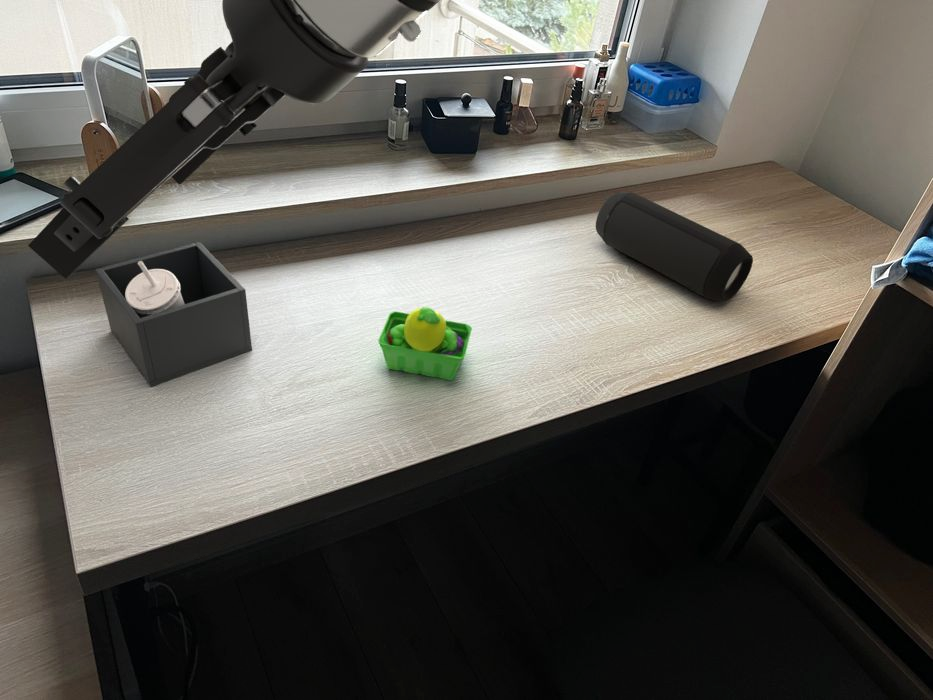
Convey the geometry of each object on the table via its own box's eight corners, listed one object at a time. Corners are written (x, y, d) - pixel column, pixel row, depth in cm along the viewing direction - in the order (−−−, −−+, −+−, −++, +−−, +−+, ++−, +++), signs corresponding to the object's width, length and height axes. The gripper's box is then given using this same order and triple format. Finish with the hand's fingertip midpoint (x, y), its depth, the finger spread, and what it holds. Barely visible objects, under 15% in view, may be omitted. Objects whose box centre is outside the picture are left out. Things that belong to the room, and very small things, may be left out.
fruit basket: (469, 353, 101) (477, 285, 94) (459, 394, 94) (467, 325, 87) (389, 339, 101) (392, 271, 94) (373, 379, 95) (375, 309, 88)
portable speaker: (742, 294, 120) (763, 242, 114) (711, 315, 114) (732, 261, 108) (620, 231, 133) (633, 181, 127) (586, 246, 128) (598, 194, 122)
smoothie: (214, 327, 96) (175, 259, 84) (178, 361, 93) (134, 296, 82) (180, 306, 98) (138, 237, 86) (145, 338, 95) (96, 272, 84)
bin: (150, 387, 89) (135, 323, 83) (111, 331, 97) (94, 269, 91) (252, 350, 97) (245, 289, 91) (208, 300, 104) (199, 241, 98)
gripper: (281, 149, 30) (41, 359, 40) (425, 10, 49) (238, 177, 60) (136, -12, 27) (-80, 260, 37) (350, -91, 46) (168, 103, 57)
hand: (115, 209), depth 49 cm, fingers open, 13 cm apart
